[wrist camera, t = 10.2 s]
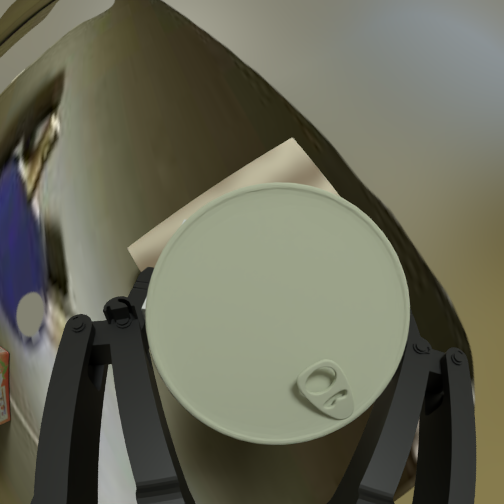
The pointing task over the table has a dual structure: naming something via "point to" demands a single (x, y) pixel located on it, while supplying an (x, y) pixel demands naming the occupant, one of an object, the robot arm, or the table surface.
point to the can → (277, 313)
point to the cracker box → (4, 386)
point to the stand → (257, 172)
